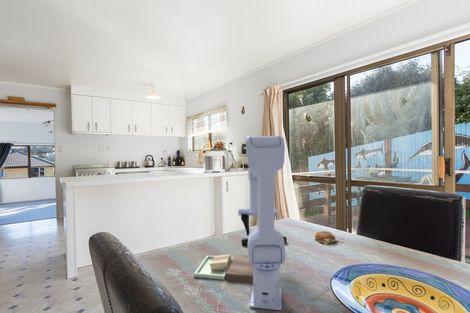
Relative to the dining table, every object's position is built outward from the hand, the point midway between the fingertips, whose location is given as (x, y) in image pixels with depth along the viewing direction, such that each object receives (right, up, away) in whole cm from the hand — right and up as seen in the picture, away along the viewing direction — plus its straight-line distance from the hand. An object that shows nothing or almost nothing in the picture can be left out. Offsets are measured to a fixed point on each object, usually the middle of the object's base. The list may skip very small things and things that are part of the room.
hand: (258, 235), depth 88 cm
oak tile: (-13, -9, -6) cm, 17 cm away
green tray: (-16, -10, -5) cm, 19 cm away
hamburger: (+34, -9, +19) cm, 40 cm away
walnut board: (-6, -10, -7) cm, 13 cm away
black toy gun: (+4, -10, +22) cm, 25 cm away
